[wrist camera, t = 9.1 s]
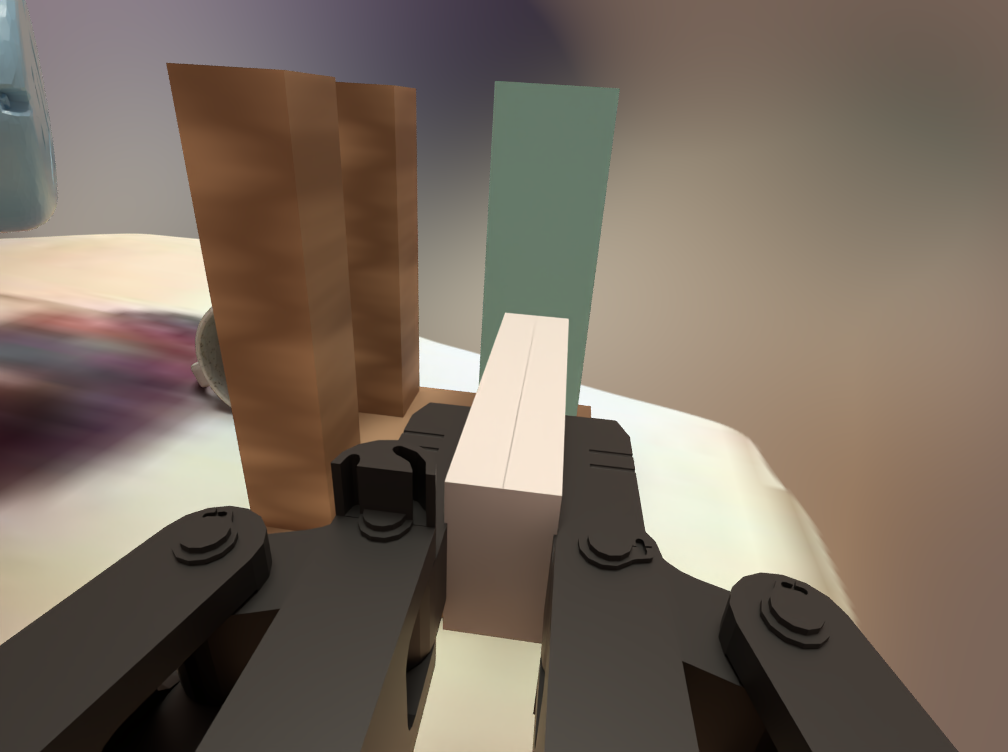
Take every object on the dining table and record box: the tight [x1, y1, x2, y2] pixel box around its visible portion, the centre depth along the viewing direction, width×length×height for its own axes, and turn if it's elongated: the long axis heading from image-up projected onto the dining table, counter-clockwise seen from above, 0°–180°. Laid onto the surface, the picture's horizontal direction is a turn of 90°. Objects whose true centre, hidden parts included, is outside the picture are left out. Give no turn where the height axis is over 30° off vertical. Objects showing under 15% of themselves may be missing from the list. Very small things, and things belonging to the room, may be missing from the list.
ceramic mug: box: [191, 307, 231, 407], centre depth 35 cm, size 11×8×8 cm
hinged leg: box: [479, 81, 620, 416], centre depth 18 cm, size 3×3×15 cm
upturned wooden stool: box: [166, 63, 591, 617], centre depth 23 cm, size 14×13×18 cm
